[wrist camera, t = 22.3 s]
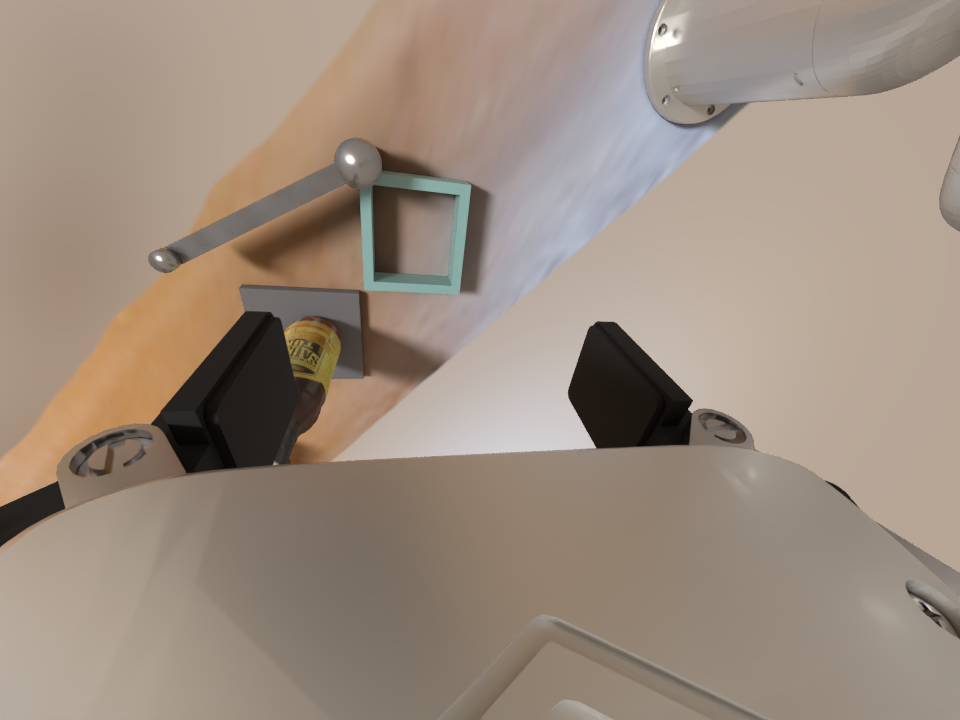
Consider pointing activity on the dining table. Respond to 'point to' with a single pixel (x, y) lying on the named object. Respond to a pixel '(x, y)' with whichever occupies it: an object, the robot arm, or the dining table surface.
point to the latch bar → (277, 203)
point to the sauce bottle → (309, 374)
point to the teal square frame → (461, 208)
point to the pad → (318, 303)
